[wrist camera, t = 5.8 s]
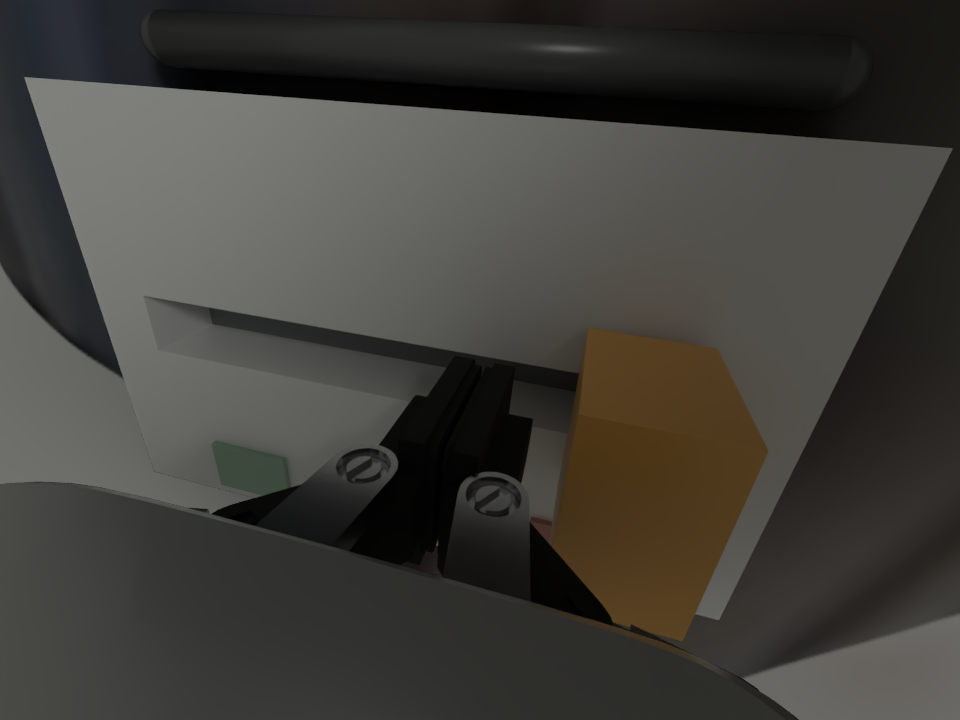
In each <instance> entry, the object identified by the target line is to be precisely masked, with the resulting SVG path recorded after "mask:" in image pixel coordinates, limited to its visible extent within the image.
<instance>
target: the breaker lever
mask: <svg viewBox="0 0 960 720" xmlns="http://www.w3.org/2000/svg"><path fill="white" fill-rule="evenodd" d="M768 452H769V451H768V449H767V447H766V445H765V443H764V441H763V439H762V437H761V435H760V433H759V431H758V429H757V427H756V425H755V423H754V421H753V419H752V417H751V415H750V413H749V411H748V409H747V407H746V405H745V403H744V401H743V399H742V397H741V395H740V393H739V391H738V389H737V387H736V385H735V383H734V381H733V379H732V377H731V375H730V373H729V371H728V369H727V367H726V365H725V363H724V361H723V359H722V357H721V355H720V353H719V351H718V349H717V348H712V347H705V346H699V345H693V344H687V343H680V342H674V341H668V340H661V339H655V338H649V337H643V336H636V335H630V334H624V333H618V332H611V331H605V330H599V329H593V328H588V331H587V336H586V341H585V347H584V352H583V357H582V362H581V367H580V372H579V377H578V382H577V388H576V393H575V398H574V403H573V408H572V413H571V418H570V423H569V428H568V434H567V439H566V444H565V449H564V454H563V459H562V464H561V469H560V474H559V480H558V485H557V492H556V499H555V506H554V513H553V519H552V526H551V533H550V540H549V544H550V545H551V546H552V548H553V549H554V550H555V551H556V552H557V553H558V554H559V556H560V557H561V558H562V559H563V560H564V561H565V562H566V564H567V565H568V566H569V567H570V568H571V569H572V570H573V572H574V573H575V574H576V575H577V576H578V577H579V578H580V580H581V581H582V582H583V583H584V584H585V585H586V586H587V588H588V589H589V590H590V591H591V592H592V593H593V594H594V596H595V597H596V598H597V599H598V600H599V601H600V602H601V604H602V605H603V606H604V608H605V609H606V610H607V612H608V613H609V615H610V616H611V619H612V622H614V623H618V624H621V625H625V626H628V627H630V626H631V624H632V625H634V626H636V627H638V628H640V629H642V630H644V631H647V632H650V633H654V634H658V635H661V636H665V637H669V638H672V639H676V640H679V641H683V639H684V637H685V635H686V633H687V631H688V628H689V626H690V624H691V622H692V620H693V617H694V615H695V613H696V611H697V609H698V606H699V604H700V602H701V600H702V598H703V595H704V593H705V591H706V589H707V586H708V584H709V582H710V580H711V578H712V575H713V573H714V571H715V569H716V567H717V564H718V562H719V560H720V558H721V556H722V553H723V551H724V549H725V547H726V545H727V542H728V540H729V538H730V536H731V534H732V531H733V529H734V527H735V525H736V523H737V520H738V518H739V516H740V514H741V512H742V509H743V507H744V505H745V503H746V500H747V498H748V496H749V494H750V492H751V489H752V487H753V485H754V483H755V481H756V478H757V476H758V474H759V472H760V470H761V467H762V465H763V463H764V461H765V459H766V456H767V454H768Z"/></svg>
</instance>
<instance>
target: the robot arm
mask: <svg viewBox="0 0 960 720" xmlns="http://www.w3.org/2000/svg"><path fill="white" fill-rule="evenodd" d="M514 374H515V367H514V366H508V365H503V364H497V363H494V365H493V367H492V368H490V367H486V368H485V370H484V372H483V374H482V366H480V365H476V361H475V359H471V358H466V357H460V356H454V357H453V359H452V360H451V362H450V363H449V365H448V366H447V368H446V369H445V371H444V372H443V374H442V375H441V377H440V378H439V380H438V381H437V383H436V384H435V385H434V387H433V388H432V390H431V391H430V393H429V394H428V396H427V397H425V396H420V395H415V396H414V397H413V398H412V400H411V401H410V403H409V404H408V405H407V407H406V408H405V409H404V411H403V412H402V414H401V415H400V416H399V418H398V419H397V420H396V422H395V423H394V425H393V426H392V427H391V429H390V430H389V431H388V433H387V434H386V436H385V437H384V438H383V440H382V441H381V442H380V444H379V445H375V444H360V445H354V446H351V447H348V448H346V449H343V450H342V451H340V452H339V453H337V454H336V455H335V456H333V457H332V458H331V459H330V460H329V461H328V462H327V463H325V464H324V465H323V466H322V467H321V468H320V469H319V470H318V471H316V472H315V473H314V474H313V475H312V476H311V477H310V478H308V479H307V480H306V481H305V482H304V483H303V484H301V485H297V486H294V487H290V488H287V489H284V490H280V491H277V492H273V493H270V494H267V495H263V496H260V497H256V498H253V499H250V500H246V501H243V502H239V503H236V504H232V505H229V506H227V507H224V508H222V509H219V510H217V511H216V512H214V513H212V514H209V510H208V509H198V508H185V507H181V506H178V505H174V504H170V503H166V502H162V501H158V500H154V499H150V498H146V497H141V496H137V495H132V494H128V493H123V492H119V491H114V490H109V489H105V488H101V487H94V486H88V485H81V484H73V483H56V482H24V483H7V484H0V720H798V719H797V718H796V717H795V716H794V715H792V714H791V713H790V712H788V711H787V710H786V709H784V708H783V707H782V706H780V705H779V704H777V702H775V701H774V700H772V699H771V698H769V697H767V696H766V695H764V694H763V693H761V692H760V691H759V690H758V689H757V688H756V687H754V686H753V685H751V684H749V683H748V682H747V681H745V680H744V679H742V678H740V677H738V676H736V675H734V674H732V673H730V672H728V671H726V670H724V669H722V668H720V667H718V666H716V665H714V664H712V663H710V662H708V661H706V660H704V659H701V658H699V657H697V656H695V655H693V654H691V653H689V652H687V651H685V650H683V649H681V648H679V647H677V646H675V645H673V644H671V643H669V642H667V641H665V640H663V639H661V638H658V637H656V636H654V635H652V634H650V633H648V632H646V631H644V630H642V629H640V628H638V627H636V626H634V625H632V624H631V626H630V628H629V630H628V629H626V628H624V627H622V626H620V625H618V624H615V623H613V622H612V619H611V616H610V615H609V613H608V612H607V610H606V609H605V608H604V606H603V605H602V604H601V602H600V601H599V600H598V599H597V598H596V597H595V596H594V594H593V593H592V592H591V591H590V590H589V589H588V588H587V586H586V585H585V584H584V583H583V582H582V581H581V580H580V578H579V577H578V576H577V575H576V574H575V573H574V572H573V570H572V569H571V568H570V567H569V566H568V565H567V564H566V562H565V561H564V560H563V559H562V558H561V557H560V556H559V554H558V553H557V552H556V551H555V550H554V549H553V548H552V546H551V545H550V544H549V543H548V542H547V541H546V540H545V538H544V537H543V536H542V535H541V534H540V533H539V532H538V530H537V529H536V528H535V527H534V526H533V525H532V524H531V522H530V518H529V497H528V493H527V491H526V489H525V488H524V486H523V485H522V484H521V482H522V478H523V474H524V469H525V464H526V459H527V454H528V448H529V443H530V437H531V431H532V424H533V419H532V418H527V417H522V416H517V415H512V414H509V410H510V403H511V396H512V389H513V381H514ZM481 375H482V376H481ZM437 542H438V564H437V567H438V569H439V571H440V572H441V574H442V576H443V577H440V576H436V575H433V574H429V573H426V572H422V571H418V570H415V569H411V568H408V567H404V566H400V564H402V563H404V562H410V563H414V564H418V565H420V563H421V560H422V558H423V556H424V553H425V551H428V552H433V551H434V549H435V547H436V544H437Z"/></svg>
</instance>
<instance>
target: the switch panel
mask: <svg viewBox="0 0 960 720" xmlns="http://www.w3.org/2000/svg"><path fill="white" fill-rule="evenodd" d="M140 37H141V40H142V42H143V45H144V46H145V48H146V49H147V51H148V52H149V53H150V54H151V56H152V57H154V58H155V59H156V60H157V61H159V62H160V63H162V64H164V65H166V66H169V67H174V68H187V69H202V70H217V71H232V72H247V73H262V74H277V75H292V76H307V77H323V78H338V79H353V80H368V81H383V82H398V83H413V84H428V85H443V86H458V87H473V88H488V89H503V90H518V91H533V92H548V93H563V94H578V95H593V96H608V97H624V98H639V99H654V100H669V101H684V102H699V103H714V104H729V105H744V106H759V107H774V108H789V109H804V110H830V109H834V108H837V107H839V106H842V105H844V104H845V103H847V102H849V101H850V100H852V99H853V98H854V97H855V96H856V95H858V94H859V93H860V91H861V90H862V89H863V88H864V87H865V85H866V84H867V82H868V80H869V78H870V76H871V74H872V70H873V63H874V59H873V54H872V51H871V49H870V47H869V46H868V45H867V44H866V43H865V42H864V41H862V40H861V39H858V38H856V37H850V36H830V35H804V34H778V33H752V32H727V31H701V30H675V29H649V28H623V27H598V26H572V25H546V24H520V23H495V22H469V21H443V20H417V19H392V18H366V17H340V16H314V15H289V14H263V13H237V12H211V11H185V10H153V11H150V12H148V13H147V14H146V15H145V16H144V17H143V18H142V20H141V23H140ZM24 78H25V81H26V84H27V87H28V90H29V93H30V96H31V99H32V102H33V105H34V108H35V111H36V114H37V117H38V120H39V123H40V126H41V129H42V132H43V135H44V138H45V141H46V144H47V147H48V150H49V153H50V157H51V160H52V163H53V166H54V169H55V172H56V175H57V178H58V181H59V184H60V187H61V190H62V193H63V196H64V199H65V202H66V205H67V208H68V211H69V214H70V217H71V220H72V223H73V226H74V229H75V232H76V235H77V238H78V242H79V245H80V248H81V251H82V254H83V257H84V260H85V263H86V266H87V269H88V272H89V275H90V278H91V281H92V284H93V287H94V290H95V293H96V296H97V299H98V302H99V305H100V308H101V311H102V314H103V317H104V320H105V324H106V327H107V330H108V333H109V336H110V339H111V342H112V345H113V348H114V351H115V354H116V357H117V360H118V363H119V366H120V369H121V372H122V375H123V378H124V381H125V384H126V387H127V390H128V393H129V396H130V399H131V402H132V405H133V409H134V412H135V415H136V417H137V420H138V424H139V426H140V430H141V433H142V436H143V439H144V442H145V445H146V448H147V451H148V454H149V457H150V460H151V463H152V466H153V469H154V472H157V473H161V474H165V475H169V476H172V477H176V478H180V479H184V480H188V481H192V482H195V483H199V484H203V485H207V486H210V487H214V488H218V489H222V490H226V491H229V492H233V493H237V494H241V495H245V496H249V497H252V498H256V497H260V496H263V495H267V494H270V493H273V492H277V491H280V490H284V489H287V488H290V487H294V486H297V485H301V484H303V483H304V482H305V481H306V480H307V479H308V478H310V477H311V476H312V475H313V474H314V473H315V472H316V471H318V470H319V469H320V468H321V467H322V466H323V465H324V464H325V463H327V462H328V461H329V460H330V459H331V458H332V457H333V456H335V455H336V454H337V453H339V452H340V451H342V450H343V449H346V448H348V447H351V446H354V445H360V444H375V445H379V444H380V442H381V441H382V440H383V438H384V437H385V436H386V434H387V433H388V431H389V430H390V429H391V427H392V426H393V425H394V423H395V422H396V420H397V419H398V418H399V416H400V415H401V414H402V412H403V411H404V409H405V408H406V407H407V405H408V404H409V403H410V401H411V400H412V398H413V397H414V396H415V395H420V396H425V397H427V396H428V394H429V393H430V391H431V390H432V388H433V387H434V385H435V384H436V383H437V381H438V380H439V378H440V377H441V375H442V374H443V372H444V371H445V369H446V368H447V366H448V365H449V363H450V362H451V360H452V359H453V357H454V356H460V357H466V358H471V359H475V361H476V365H480V366H482V374H483V372H484V370H485V368H486V367H490V368H492V367H493V365H494V363H497V364H503V365H508V366H514V367H515V374H514V381H513V389H512V396H511V403H510V410H509V414H512V415H517V416H522V417H527V418H532V419H533V424H532V431H531V437H530V443H529V448H528V454H527V459H526V464H525V469H524V474H523V478H522V482H521V484H522V485H523V486H524V488H525V489H526V491H527V493H528V497H529V518H530V522H531V524H532V525H533V526H534V527H535V528H536V529H537V530H538V532H539V533H540V534H541V535H542V536H543V537H544V538H545V540H546V541H547V542H548V543H549V540H550V533H551V526H552V519H553V513H554V506H555V499H556V492H557V485H558V480H559V474H560V469H561V464H562V459H563V454H564V449H565V444H566V439H567V434H568V428H569V423H570V418H571V413H572V408H573V403H574V398H575V393H576V388H577V382H578V377H579V372H580V367H581V362H582V357H583V352H584V347H585V341H586V336H587V331H588V328H593V329H599V330H605V331H611V332H618V333H624V334H630V335H636V336H643V337H649V338H655V339H661V340H668V341H674V342H680V343H687V344H693V345H699V346H705V347H712V348H717V349H718V351H719V353H720V355H721V357H722V359H723V361H724V363H725V365H726V367H727V369H728V371H729V373H730V375H731V377H732V379H733V381H734V383H735V385H736V387H737V389H738V391H739V393H740V395H741V397H742V399H743V401H744V403H745V405H746V407H747V409H748V411H749V413H750V415H751V417H752V419H753V421H754V423H755V425H756V427H757V429H758V431H759V433H760V435H761V437H762V439H763V441H764V443H765V445H766V447H767V449H768V451H769V452H768V454H767V456H766V459H765V461H764V463H763V465H762V467H761V470H760V472H759V474H758V476H757V478H756V481H755V483H754V485H753V487H752V489H751V492H750V494H749V496H748V498H747V500H746V503H745V505H744V507H743V509H742V512H741V514H740V516H739V518H738V520H737V523H736V525H735V527H734V529H733V531H732V534H731V536H730V538H729V540H728V542H727V545H726V547H725V549H724V551H723V553H722V556H721V558H720V560H719V562H718V564H717V567H716V569H715V571H714V573H713V575H712V578H711V580H710V582H709V584H708V586H707V589H706V591H705V593H704V595H703V598H702V600H701V602H700V604H699V606H698V609H697V611H696V613H695V614H697V615H701V616H705V617H709V618H713V619H716V620H719V619H720V617H721V615H722V613H723V611H724V609H725V607H726V605H727V603H728V601H729V599H730V597H731V595H732V593H733V591H734V589H735V587H736V585H737V583H738V581H739V579H740V577H741V575H742V573H743V571H744V569H745V567H746V564H747V562H748V560H749V558H750V556H751V554H752V552H753V550H754V548H755V546H756V544H757V542H758V540H759V538H760V536H761V534H762V532H763V530H764V528H765V526H766V524H767V522H768V520H769V518H770V516H771V514H772V512H773V510H774V508H775V506H776V504H777V502H778V500H779V498H780V496H781V494H782V492H783V490H784V488H785V486H786V484H787V482H788V480H789V478H790V476H791V474H792V472H793V470H794V468H795V466H796V464H797V462H798V460H799V458H800V456H801V454H802V452H803V450H804V448H805V446H806V444H807V442H808V440H809V438H810V436H811V433H812V431H813V429H814V427H815V425H816V423H817V421H818V419H819V417H820V415H821V413H822V411H823V409H824V407H825V405H826V403H827V401H828V399H829V397H830V395H831V393H832V391H833V389H834V387H835V385H836V383H837V381H838V379H839V377H840V375H841V373H842V371H843V369H844V367H845V365H846V363H847V361H848V359H849V357H850V355H851V353H852V351H853V349H854V347H855V345H856V343H857V341H858V339H859V337H860V335H861V333H862V331H863V329H864V327H865V325H866V323H867V321H868V319H869V317H870V315H871V313H872V311H873V309H874V307H875V305H876V302H877V300H878V298H879V296H880V294H881V292H882V290H883V288H884V286H885V284H886V282H887V280H888V278H889V276H890V274H891V272H892V270H893V268H894V266H895V264H896V262H897V260H898V258H899V256H900V254H901V252H902V250H903V248H904V246H905V244H906V242H907V240H908V238H909V236H910V234H911V232H912V230H913V228H914V226H915V224H916V222H917V220H918V218H919V216H920V214H921V212H922V210H923V208H924V206H925V204H926V202H927V200H928V198H929V196H930V194H931V192H932V190H933V188H934V186H935V184H936V182H937V180H938V178H939V176H940V174H941V171H942V169H943V167H944V165H945V163H946V161H947V159H948V157H949V155H950V153H951V151H952V149H953V148H943V147H929V146H916V145H903V144H890V143H877V142H864V141H851V140H838V139H825V138H812V137H799V136H786V135H773V134H760V133H747V132H733V131H720V130H707V129H694V128H681V127H668V126H655V125H642V124H629V123H616V122H603V121H590V120H577V119H564V118H551V117H538V116H524V115H511V114H498V113H485V112H472V111H459V110H446V109H433V108H420V107H407V106H394V105H381V104H368V103H355V102H342V101H328V100H315V99H302V98H289V97H276V96H263V95H250V94H237V93H224V92H211V91H198V90H185V89H172V88H159V87H146V86H133V85H119V84H106V83H93V82H80V81H67V80H54V79H41V78H28V77H24ZM481 376H482V375H481ZM436 546H438V542H437V544H436Z"/></svg>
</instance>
